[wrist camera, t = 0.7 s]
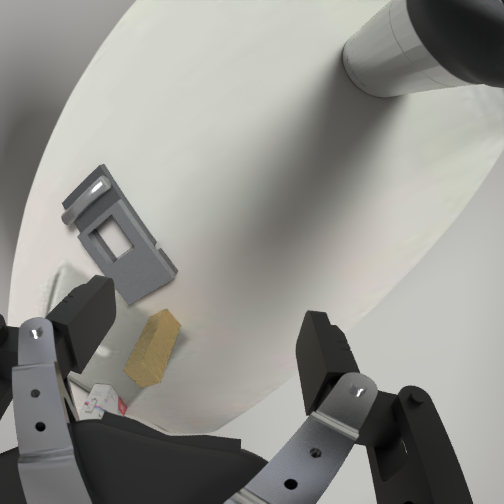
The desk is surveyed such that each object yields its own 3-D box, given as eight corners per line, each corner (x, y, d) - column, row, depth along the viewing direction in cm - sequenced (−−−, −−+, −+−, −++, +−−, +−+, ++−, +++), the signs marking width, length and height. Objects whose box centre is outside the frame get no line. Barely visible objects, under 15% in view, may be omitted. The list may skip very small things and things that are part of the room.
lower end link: (104, 163, 33) (91, 167, 30) (156, 241, 37) (148, 251, 34) (66, 201, 35) (53, 207, 32) (114, 270, 39) (105, 281, 36)
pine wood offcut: (166, 308, 41) (140, 363, 30) (180, 325, 43) (160, 382, 32) (150, 316, 42) (123, 370, 31) (164, 333, 44) (141, 388, 33)
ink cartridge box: (128, 407, 54) (109, 457, 41) (112, 406, 55) (92, 453, 41) (110, 384, 51) (86, 436, 37) (94, 382, 51) (69, 432, 38)
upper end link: (125, 196, 35) (117, 201, 32) (178, 270, 39) (173, 279, 37) (85, 230, 37) (77, 236, 35) (134, 296, 41) (128, 304, 39)
